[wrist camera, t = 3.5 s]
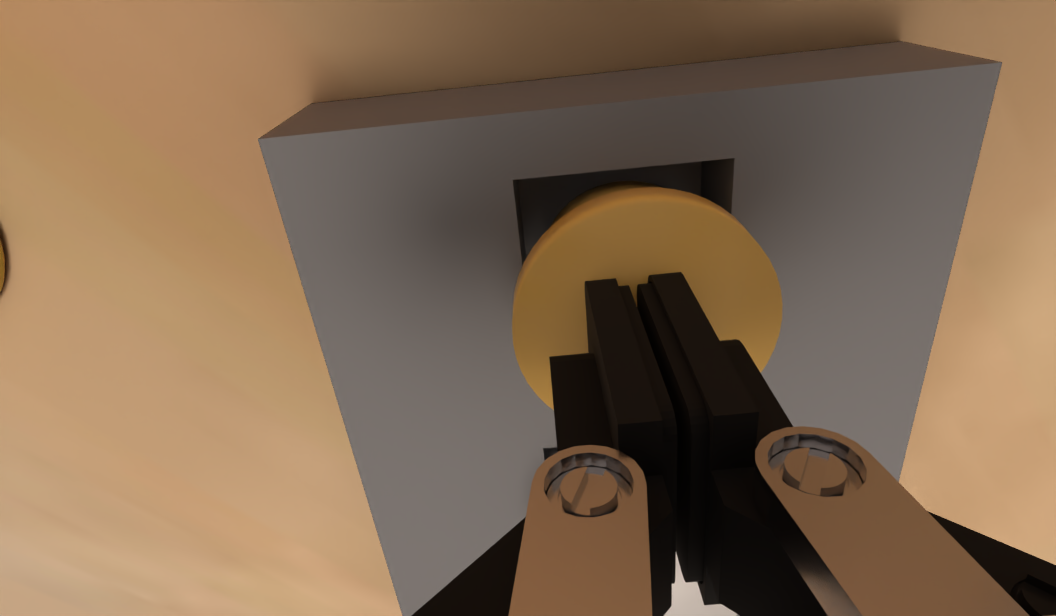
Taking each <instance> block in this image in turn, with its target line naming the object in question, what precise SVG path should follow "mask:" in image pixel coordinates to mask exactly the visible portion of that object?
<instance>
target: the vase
mask: <svg viewBox="0 0 1056 616" xmlns="http://www.w3.org/2000/svg"><path fill="white" fill-rule="evenodd" d="M4 276H5V259H4V252H3V247H2V243H1V239H0V292H1V290H2V287H3V283H4Z"/></svg>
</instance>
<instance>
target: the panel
mask: <svg viewBox="0 0 1056 616" xmlns="http://www.w3.org/2000/svg"><path fill="white" fill-rule="evenodd" d="M1001 65H1002V62H998V61H994V60H989V59H984V58H979V57H974V56H969V55H965V54H960V53H955V52H950V51H945V50H941V49H936V48H931V47H926V46H921V45H917V44H912V43H907V42H902V41H901V42H892V43H882V44H873V45H863V46H854V47H844V48H835V49H825V50H816V51H806V52H797V53H787V54H778V55H768V56H759V57H749V58H740V59H730V60H721V61H711V62H702V63H692V64H683V65H673V66H663V67H654V68H644V69H635V70H625V71H616V72H606V73H597V74H587V75H578V76H568V77H559V78H549V79H540V80H530V81H521V82H511V83H502V84H492V85H483V86H473V87H464V88H454V89H445V90H435V91H426V92H416V93H407V94H397V95H388V96H378V97H369V98H359V99H350V100H340V101H331V102H321V103H312V104H310V105H308V106H307V107H305V108H304V109H302V110H301V111H299V112H298V113H296V114H295V115H293V116H292V117H290V118H289V119H287V120H286V121H284V122H283V123H281V124H280V125H278V126H277V127H275V128H274V129H272V130H271V131H269V132H268V133H266V134H265V135H263V136H262V137H260V138H259V139H258V141H259V144H260V148H261V151H262V154H263V158H264V161H265V164H266V167H267V171H268V174H269V177H270V181H271V184H272V187H273V191H274V194H275V197H276V200H277V204H278V207H279V210H280V214H281V217H282V220H283V223H284V227H285V230H286V233H287V237H288V240H289V243H290V247H291V250H292V253H293V256H294V260H295V263H296V266H297V270H298V273H299V276H300V279H301V283H302V286H303V289H304V293H305V296H306V299H307V303H308V306H309V309H310V312H311V316H312V319H313V322H314V326H315V329H316V332H317V335H318V339H319V342H320V345H321V349H322V352H323V355H324V359H325V362H326V365H327V368H328V372H329V375H330V378H331V382H332V385H333V388H334V391H335V395H336V398H337V401H338V405H339V408H340V411H341V415H342V418H343V421H344V424H345V428H346V431H347V434H348V438H349V441H350V444H351V447H352V451H353V454H354V457H355V461H356V464H357V467H358V471H359V474H360V477H361V480H362V484H363V487H364V490H365V494H366V497H367V500H368V503H369V507H370V510H371V513H372V517H373V520H374V523H375V527H376V530H377V533H378V536H379V540H380V543H381V546H382V550H383V553H384V556H385V559H386V563H387V566H388V569H389V573H390V576H391V579H392V583H393V586H394V589H395V592H396V596H397V599H398V602H399V606H400V609H401V612H402V615H403V616H412V615H413V614H414V613H415V612H416V611H417V610H418V609H420V608H421V607H422V606H423V605H424V604H425V603H427V602H428V601H429V600H430V599H431V598H432V597H434V596H435V595H436V594H437V593H438V592H439V591H440V590H442V589H443V588H444V587H445V586H446V585H447V584H449V583H450V582H451V581H452V580H453V579H454V578H456V577H457V576H458V575H459V574H460V573H461V572H462V571H464V570H465V569H466V568H467V567H468V566H469V565H471V564H472V563H473V562H474V561H475V560H476V559H477V558H479V557H480V556H481V555H482V554H483V553H484V552H486V551H487V550H488V549H489V548H490V547H491V546H493V545H494V544H495V543H496V542H497V541H498V540H499V539H501V538H502V537H503V536H504V535H505V534H506V533H508V532H509V531H510V530H511V529H512V528H513V527H515V526H516V525H517V524H518V523H519V522H520V521H521V520H523V519H524V518H525V517H526V513H527V507H528V501H529V496H530V490H531V484H532V480H533V478H534V475H535V473H536V470H537V469H538V468H539V467H540V465H541V464H542V463H543V462H544V461H545V460H546V459H547V458H549V457H550V456H552V455H554V454H555V453H557V440H556V429H555V417H554V410H553V409H551V408H550V407H549V406H547V405H546V404H545V403H544V402H543V401H542V400H541V399H540V398H539V397H538V396H537V395H536V393H535V392H534V391H533V389H532V388H531V387H530V385H529V384H528V383H527V381H526V379H525V377H524V375H523V374H522V372H521V370H520V367H519V364H518V362H517V359H516V355H515V350H514V346H513V335H512V315H513V299H514V291H515V287H516V283H517V279H518V275H519V273H520V271H521V268H522V266H523V263H524V261H525V260H526V258H527V256H528V254H529V253H530V251H531V249H532V248H533V246H534V245H535V244H536V243H537V241H538V240H539V239H540V237H541V236H542V235H543V234H544V233H545V232H546V231H547V230H548V229H549V228H550V226H551V224H552V222H553V221H554V219H555V218H556V217H557V215H558V214H559V213H560V211H561V210H562V209H563V208H564V207H565V206H566V205H567V204H568V203H569V202H571V201H572V200H573V199H575V198H576V197H577V196H579V195H581V194H582V193H584V192H586V191H587V190H590V189H592V188H594V187H597V186H600V185H603V184H606V183H611V182H617V181H641V182H646V183H651V184H654V185H657V186H660V187H662V188H669V189H676V190H680V191H685V192H689V193H692V194H695V195H698V196H700V197H703V198H706V199H708V200H710V201H711V202H713V203H715V204H717V205H719V206H720V207H722V208H723V209H725V210H726V211H727V212H729V213H730V214H731V215H733V216H734V217H735V218H736V219H737V220H738V221H739V222H740V223H741V224H742V225H743V226H744V227H745V228H746V230H747V231H748V232H749V233H750V234H751V236H752V237H753V238H754V239H755V240H756V242H757V243H758V244H759V245H760V246H761V248H762V249H763V251H764V252H765V254H766V255H767V256H768V258H769V259H770V261H771V264H772V266H773V268H774V270H775V272H776V274H777V278H778V281H779V284H780V288H781V295H782V303H783V306H782V322H781V328H780V333H779V337H778V340H777V343H776V346H775V348H774V351H773V353H772V355H771V357H770V359H769V361H768V363H767V364H766V366H765V367H764V369H763V370H762V372H761V374H762V376H763V378H764V379H765V381H766V383H767V384H768V386H769V388H770V389H771V391H772V392H773V394H774V396H775V397H776V399H777V401H778V402H779V404H780V406H781V407H782V409H783V410H784V412H785V414H786V415H787V417H788V419H789V420H790V422H791V424H792V425H793V427H799V426H806V427H815V428H822V429H826V430H829V431H832V432H836V433H839V434H841V435H843V436H845V437H847V438H849V439H851V440H853V441H855V442H857V443H858V444H859V445H861V446H862V447H863V448H864V449H866V450H867V451H868V452H869V453H870V454H871V455H872V456H873V457H874V458H875V459H876V460H877V461H878V462H879V463H880V464H881V465H882V466H883V467H884V468H885V469H886V470H887V471H888V472H889V473H890V474H891V475H892V476H893V477H894V478H895V479H896V480H897V481H898V482H899V478H900V474H901V470H902V466H903V462H904V458H905V453H906V449H907V445H908V441H909V437H910V433H911V429H912V425H913V421H914V417H915V413H916V409H917V405H918V401H919V397H920V393H921V389H922V385H923V381H924V377H925V373H926V368H927V364H928V360H929V356H930V352H931V348H932V344H933V340H934V336H935V332H936V328H937V324H938V320H939V316H940V312H941V308H942V304H943V300H944V296H945V292H946V288H947V283H948V279H949V275H950V271H951V267H952V263H953V259H954V255H955V251H956V247H957V243H958V239H959V235H960V231H961V227H962V223H963V219H964V215H965V211H966V207H967V203H968V198H969V194H970V190H971V186H972V182H973V178H974V174H975V170H976V166H977V162H978V158H979V154H980V150H981V146H982V142H983V138H984V134H985V130H986V126H987V122H988V118H989V113H990V109H991V105H992V101H993V97H994V93H995V89H996V85H997V81H998V77H999V73H1000V69H1001ZM736 616H740V615H738V614H737V615H736Z"/></svg>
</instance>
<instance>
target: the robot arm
mask: <svg viewBox="0 0 1056 616" xmlns="http://www.w3.org/2000/svg"><path fill="white" fill-rule="evenodd" d="M584 285H585V305H586V320H587V336H588V352H589V353H582V354H571V355H561V356H550V357H549V360H550V371H551V383H552V394H553V406H554V417H555V429H556V440H557V453H555V454H554V455H552V456H550V457H549V458H547V459H546V460H545V461H544V462H543V463H542V464H541V465H540V467H539V468H538V469H537V470H536V473H535V475H534V478H533V480H532V484H531V490H530V496H529V501H528V507H527V513H526V517H525V518H524V519H523V520H521V521H520V522H519V523H518V524H517V525H516V526H515V527H513V528H512V529H511V530H510V531H509V532H508V533H506V534H505V535H504V536H503V537H502V538H501V539H499V540H498V541H497V542H496V543H495V544H494V545H493V546H491V547H490V548H489V549H488V550H487V551H486V552H484V553H483V554H482V555H481V556H480V557H479V558H477V559H476V560H475V561H474V562H473V563H472V564H471V565H469V566H468V567H467V568H466V569H465V570H464V571H462V572H461V573H460V574H459V575H458V576H457V577H456V578H454V579H453V580H452V581H451V582H450V583H449V584H447V585H446V586H445V587H444V588H443V589H442V590H440V591H439V592H438V593H437V594H436V595H435V596H434V597H432V598H431V599H430V600H429V601H428V602H427V603H425V604H424V605H423V606H422V607H421V608H420V609H418V610H417V611H416V612H415V613H414V614H413V615H412V616H664V615H665V613H666V612H667V611H668V610H669V609H670V607H671V606H672V584H674V583H675V569H676V553H677V557H678V561H679V564H680V568H681V572H682V575H683V578H684V580H685V582H686V583H687V582H697V583H698V586H699V590H700V593H701V596H702V600H703V603H704V605H715V604H722V605H724V606H725V607H727V608H728V609H730V610H732V611H733V612H735V613H736V614H738V615H740V616H1056V565H1054V564H1051V563H1049V562H1047V561H1044V560H1042V559H1039V558H1037V557H1035V556H1032V555H1030V554H1028V553H1025V552H1023V551H1020V550H1018V549H1016V548H1013V547H1011V546H1009V545H1006V544H1004V543H1001V542H999V541H997V540H994V539H992V538H990V537H987V536H985V535H982V534H980V533H978V532H975V531H973V530H971V529H968V528H966V527H963V526H961V525H959V524H956V523H954V522H952V521H949V520H947V519H945V518H942V517H940V516H937V515H935V514H933V513H930V512H928V511H926V510H925V509H924V508H923V507H922V506H921V505H920V503H919V502H918V501H917V500H916V499H915V498H914V497H913V496H912V495H911V494H910V493H909V492H908V491H907V490H906V489H905V488H904V487H903V486H902V485H901V484H900V483H899V482H898V481H897V480H896V479H895V478H894V477H893V476H892V475H891V474H890V473H889V472H888V471H887V470H886V469H885V468H884V467H883V466H882V465H881V464H880V463H879V462H878V461H877V460H876V459H875V458H874V457H873V456H872V455H871V454H870V453H869V452H868V451H867V450H866V449H864V448H863V447H862V446H861V445H859V444H858V443H857V442H855V441H853V440H851V439H849V438H847V437H845V436H843V435H841V434H839V433H836V432H832V431H829V430H826V429H822V428H815V427H806V426H799V427H793V425H792V424H791V422H790V420H789V419H788V417H787V415H786V414H785V412H784V410H783V409H782V407H781V406H780V404H779V402H778V401H777V399H776V397H775V396H774V394H773V392H772V391H771V389H770V388H769V386H768V384H767V383H766V381H765V379H764V378H763V376H762V374H761V373H760V371H759V370H758V368H757V366H756V365H755V363H754V361H753V360H752V358H751V356H750V355H749V353H748V351H747V350H746V348H745V347H744V345H743V344H742V342H741V341H740V340H737V339H732V340H722V341H720V340H719V338H718V337H717V335H716V333H715V331H714V329H713V328H712V326H711V324H710V322H709V320H708V319H707V317H706V315H705V313H704V311H703V310H702V308H701V306H700V304H699V302H698V301H697V299H696V297H695V295H694V293H693V291H692V290H691V288H690V286H689V284H688V282H687V281H686V279H685V277H684V275H683V274H682V272H675V273H664V274H654V275H649V277H648V283H645V284H638V285H637V306H636V303H635V300H634V298H633V295H632V292H631V289H630V287H629V285H625V286H618V283H617V280H616V278H613V279H602V280H592V281H585V284H584Z"/></svg>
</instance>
